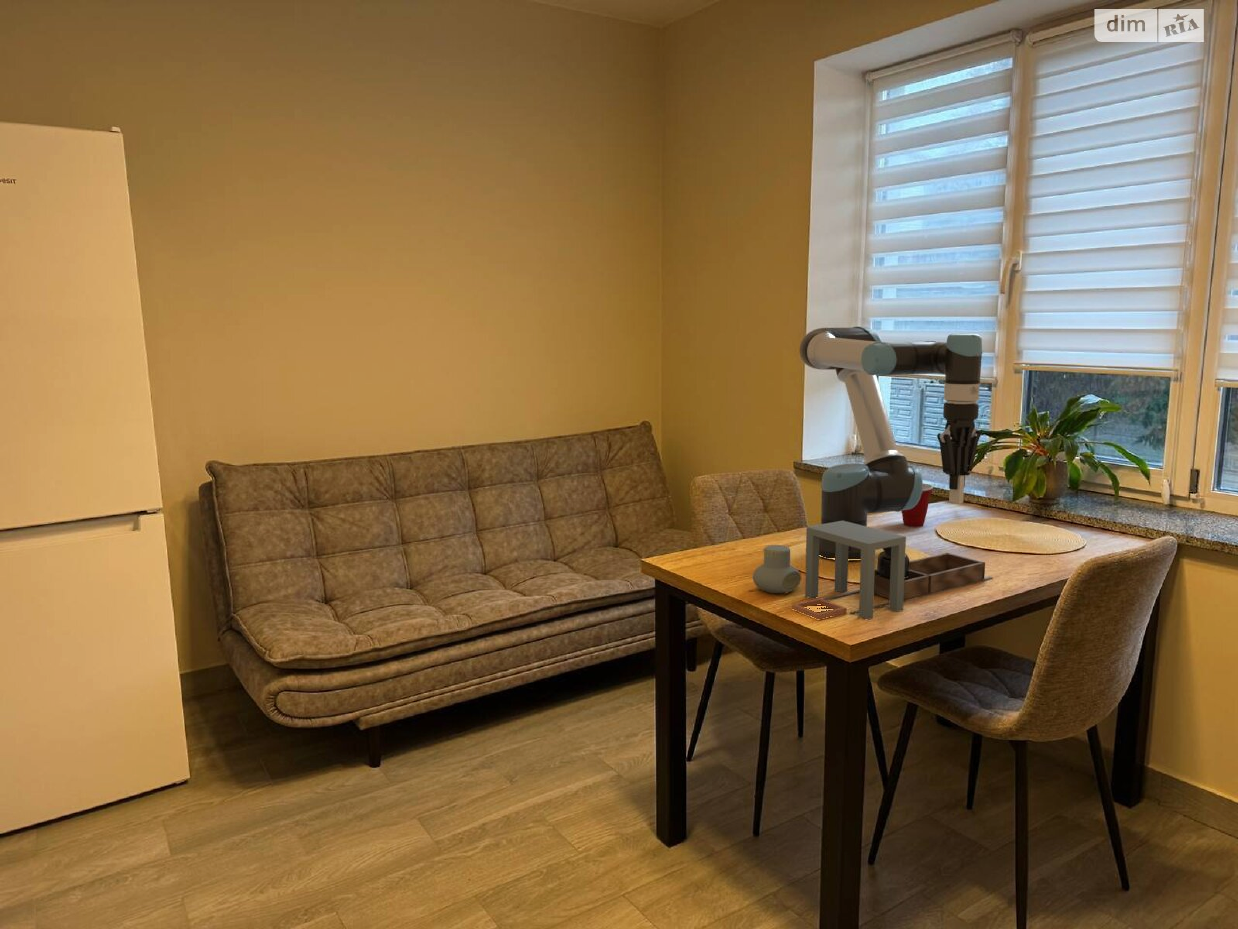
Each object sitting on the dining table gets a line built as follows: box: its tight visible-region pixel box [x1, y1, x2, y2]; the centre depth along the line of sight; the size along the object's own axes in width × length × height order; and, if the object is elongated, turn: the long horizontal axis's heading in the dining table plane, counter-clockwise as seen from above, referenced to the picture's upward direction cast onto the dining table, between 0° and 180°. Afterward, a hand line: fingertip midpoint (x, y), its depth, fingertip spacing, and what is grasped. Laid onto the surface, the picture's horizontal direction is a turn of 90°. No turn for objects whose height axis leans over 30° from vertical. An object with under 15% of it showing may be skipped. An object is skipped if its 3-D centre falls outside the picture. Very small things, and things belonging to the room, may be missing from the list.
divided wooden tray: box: [874, 552, 986, 600], centre depth 200 cm, size 29×11×4 cm, turn 121°
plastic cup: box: [900, 482, 934, 528], centre depth 258 cm, size 11×11×12 cm
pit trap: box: [791, 597, 848, 620], centre depth 184 cm, size 8×8×1 cm
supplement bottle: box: [876, 547, 910, 581], centre depth 194 cm, size 7×7×12 cm
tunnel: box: [804, 521, 994, 620], centre depth 197 cm, size 46×18×16 cm, turn 121°
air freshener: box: [752, 544, 802, 594], centre depth 198 cm, size 11×8×10 cm
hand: (956, 502), depth 203 cm, fingers closed
